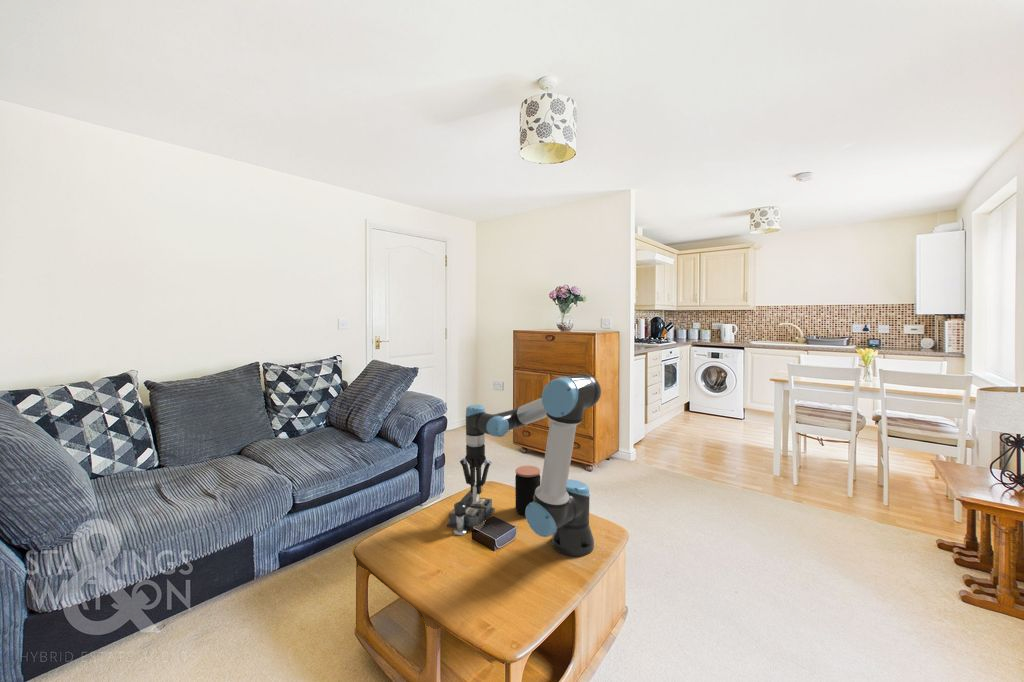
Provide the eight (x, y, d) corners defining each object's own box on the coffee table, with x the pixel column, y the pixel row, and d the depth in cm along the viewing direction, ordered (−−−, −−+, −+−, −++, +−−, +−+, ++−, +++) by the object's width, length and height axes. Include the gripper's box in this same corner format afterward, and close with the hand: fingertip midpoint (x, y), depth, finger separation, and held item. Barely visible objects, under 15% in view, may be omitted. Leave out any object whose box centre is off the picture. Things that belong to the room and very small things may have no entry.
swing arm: (463, 516, 155) (462, 507, 155) (452, 515, 156) (452, 506, 156) (484, 491, 177) (484, 482, 177) (475, 489, 179) (475, 481, 178)
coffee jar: (537, 519, 168) (537, 476, 167) (512, 515, 171) (512, 473, 170) (542, 507, 178) (542, 466, 177) (519, 504, 181) (519, 464, 180)
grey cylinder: (468, 529, 160) (468, 512, 159) (463, 536, 155) (463, 518, 154) (457, 528, 161) (456, 510, 161) (451, 534, 156) (451, 516, 156)
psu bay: (494, 510, 176) (494, 497, 175) (479, 531, 158) (479, 517, 158) (464, 506, 180) (464, 493, 179) (446, 526, 162) (446, 512, 162)
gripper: (493, 442, 165) (494, 499, 167) (464, 439, 169) (464, 495, 171) (487, 448, 158) (487, 507, 160) (456, 445, 162) (457, 503, 164)
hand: (475, 501), depth 165 cm, fingers closed
